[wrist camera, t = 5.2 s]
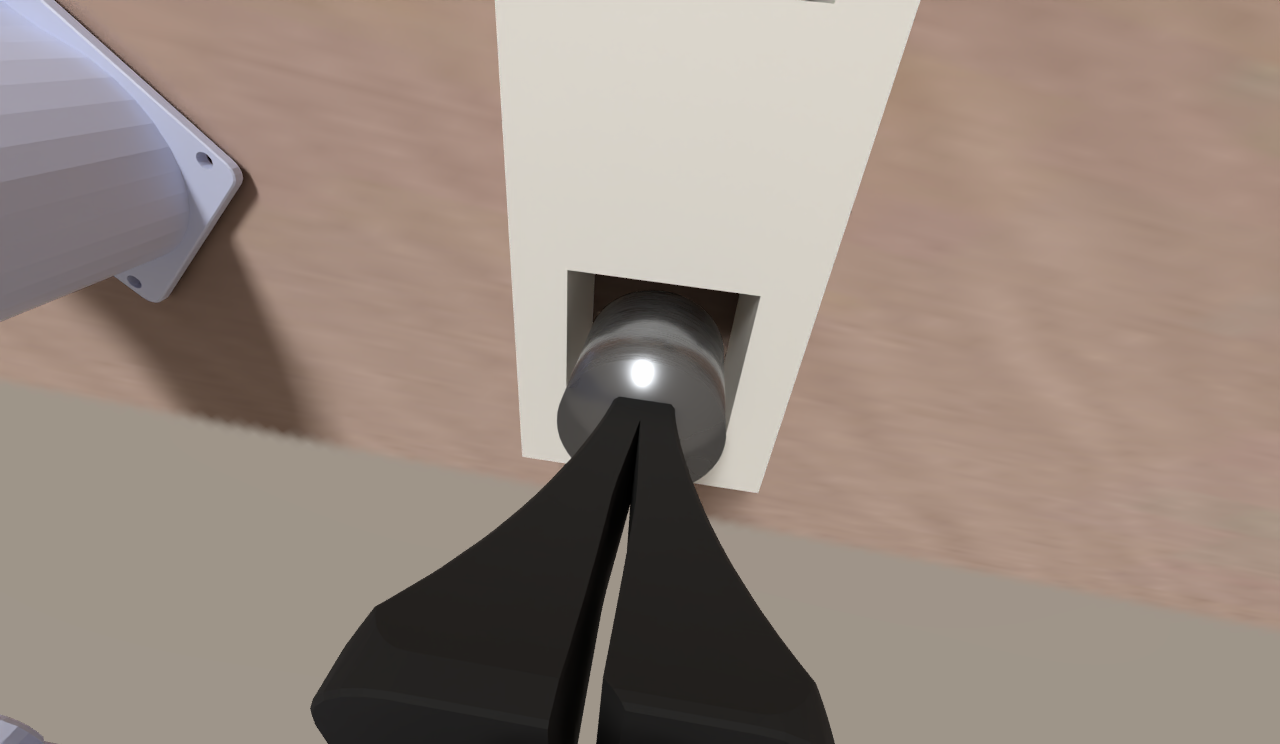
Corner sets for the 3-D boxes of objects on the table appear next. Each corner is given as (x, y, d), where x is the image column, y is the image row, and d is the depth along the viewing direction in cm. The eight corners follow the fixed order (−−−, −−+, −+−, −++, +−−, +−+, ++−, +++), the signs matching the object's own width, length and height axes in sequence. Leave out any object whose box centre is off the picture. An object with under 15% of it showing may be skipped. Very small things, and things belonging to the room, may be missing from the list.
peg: (560, 339, 15) (522, 415, 12) (666, 262, 13) (652, 328, 10) (645, 425, 16) (630, 512, 13) (750, 366, 15) (760, 451, 12)
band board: (544, -511, 9) (445, -828, 6) (1004, -484, 9) (1187, -810, 5) (553, 387, 20) (522, 456, 17) (751, 417, 20) (758, 493, 17)
